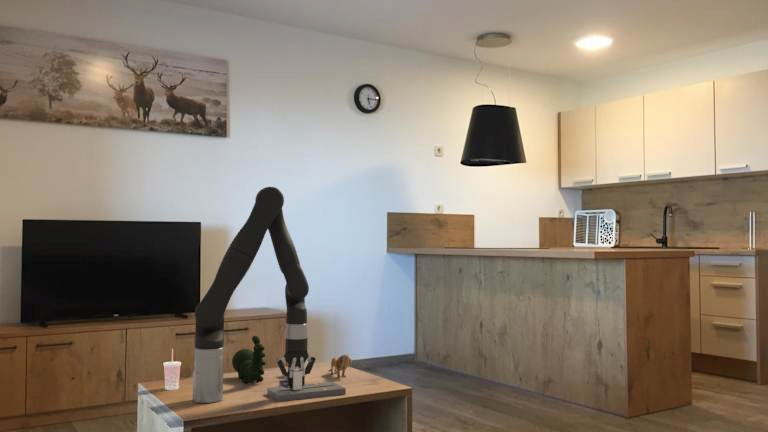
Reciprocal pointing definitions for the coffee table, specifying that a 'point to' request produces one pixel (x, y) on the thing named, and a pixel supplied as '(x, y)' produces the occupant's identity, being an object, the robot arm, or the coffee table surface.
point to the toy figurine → (250, 362)
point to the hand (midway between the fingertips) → (296, 387)
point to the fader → (297, 379)
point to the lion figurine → (340, 365)
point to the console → (306, 391)
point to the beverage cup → (172, 374)
